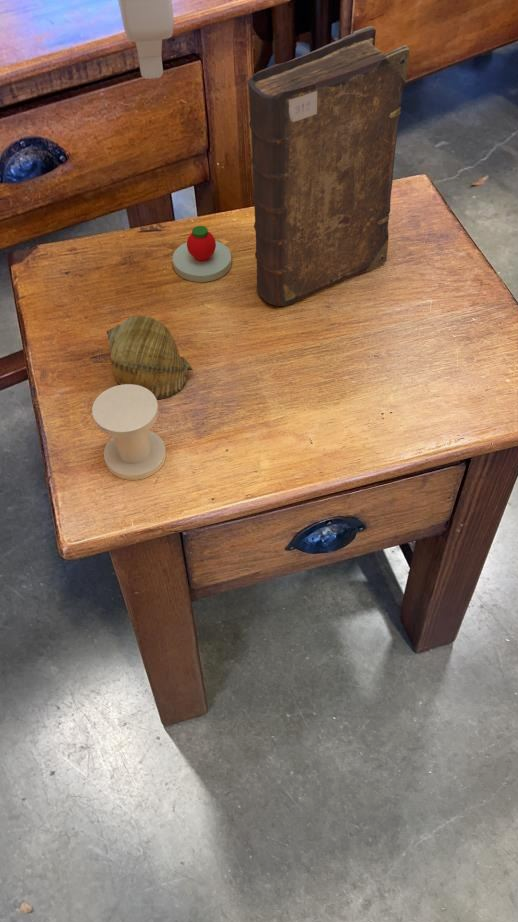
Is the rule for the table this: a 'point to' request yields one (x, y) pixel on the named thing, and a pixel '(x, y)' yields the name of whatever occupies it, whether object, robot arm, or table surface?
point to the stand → (129, 431)
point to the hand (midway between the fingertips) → (145, 47)
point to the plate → (202, 264)
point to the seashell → (147, 356)
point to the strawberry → (201, 244)
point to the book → (324, 164)
